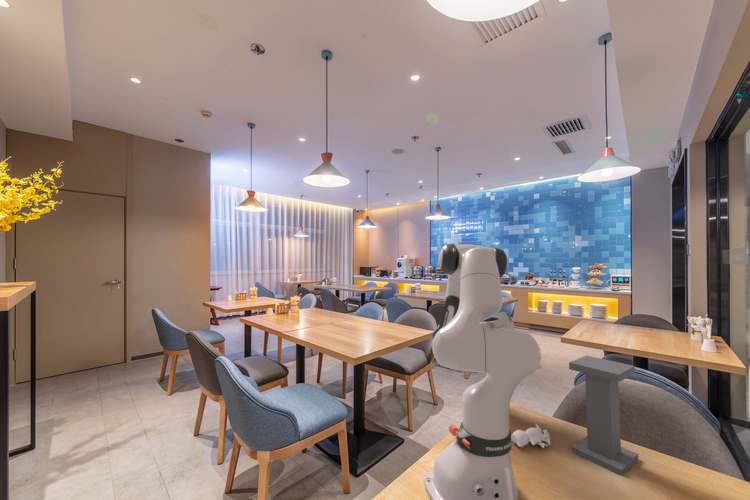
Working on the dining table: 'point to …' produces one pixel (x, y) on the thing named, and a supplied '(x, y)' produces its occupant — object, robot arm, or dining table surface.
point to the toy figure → (531, 437)
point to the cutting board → (508, 324)
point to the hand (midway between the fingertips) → (508, 319)
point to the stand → (603, 414)
